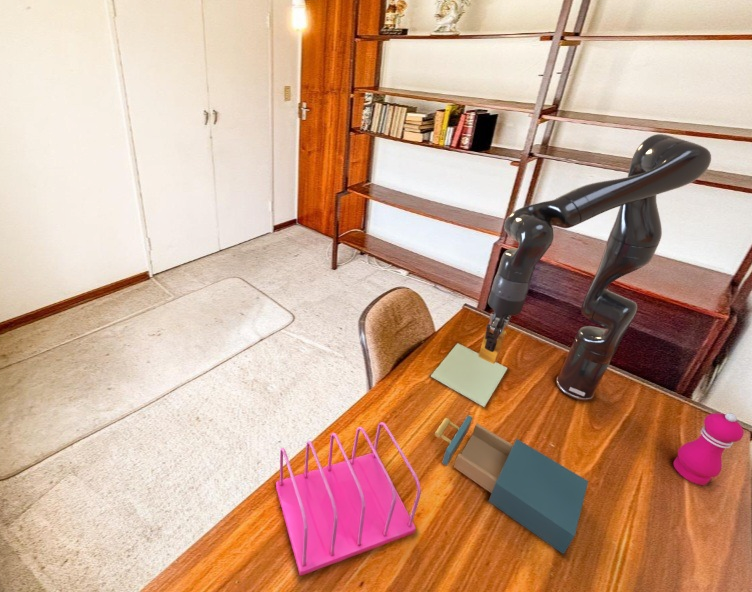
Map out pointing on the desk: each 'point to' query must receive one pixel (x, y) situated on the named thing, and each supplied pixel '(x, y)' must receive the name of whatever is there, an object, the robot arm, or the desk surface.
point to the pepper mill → (708, 448)
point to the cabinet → (540, 495)
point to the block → (488, 354)
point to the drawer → (476, 453)
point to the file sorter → (342, 506)
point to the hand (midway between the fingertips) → (491, 345)
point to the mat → (469, 374)
